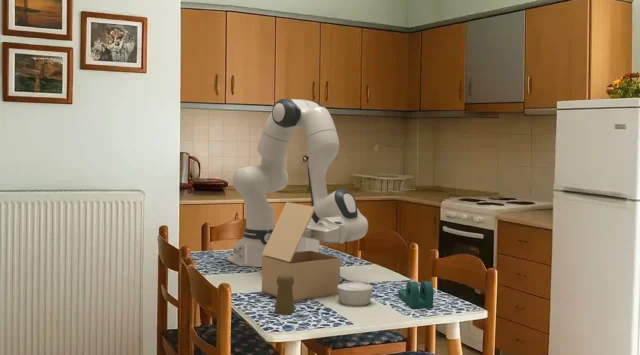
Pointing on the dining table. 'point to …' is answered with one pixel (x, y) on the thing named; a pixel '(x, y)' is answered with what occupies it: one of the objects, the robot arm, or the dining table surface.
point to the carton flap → (288, 231)
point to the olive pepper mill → (285, 295)
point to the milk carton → (308, 243)
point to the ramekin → (355, 293)
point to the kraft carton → (303, 274)
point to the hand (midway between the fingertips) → (295, 233)
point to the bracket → (417, 295)
